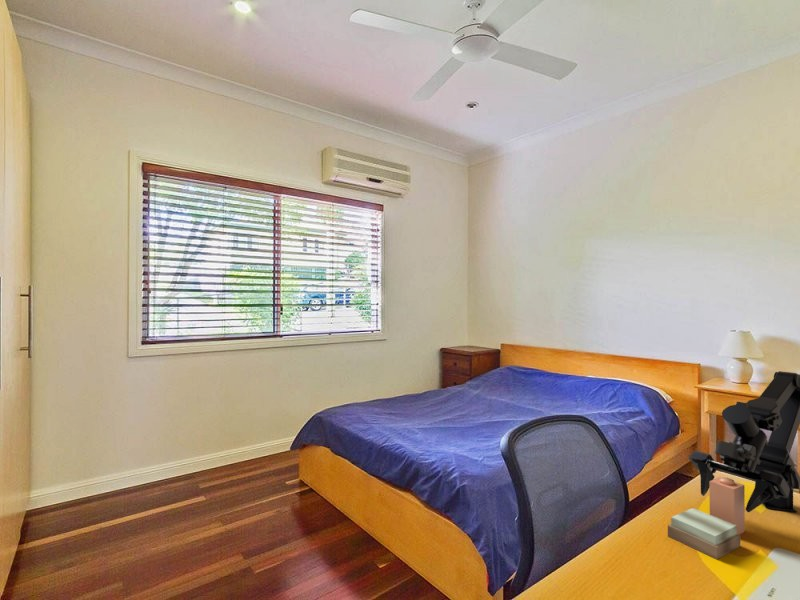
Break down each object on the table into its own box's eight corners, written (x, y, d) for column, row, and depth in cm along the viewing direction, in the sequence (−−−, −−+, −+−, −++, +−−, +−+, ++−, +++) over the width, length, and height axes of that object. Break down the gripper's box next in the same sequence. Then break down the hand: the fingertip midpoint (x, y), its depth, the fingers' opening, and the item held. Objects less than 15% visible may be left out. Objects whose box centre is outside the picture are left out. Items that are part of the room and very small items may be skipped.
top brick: (720, 521, 104) (720, 473, 104) (744, 531, 99) (744, 481, 99) (709, 527, 101) (709, 477, 101) (734, 537, 97) (733, 485, 97)
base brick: (691, 525, 102) (691, 506, 102) (740, 546, 93) (740, 525, 93) (667, 536, 97) (667, 516, 97) (716, 559, 88) (716, 537, 88)
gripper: (693, 419, 110) (668, 469, 105) (784, 439, 94) (760, 500, 89) (709, 444, 114) (686, 494, 109) (799, 468, 98) (777, 528, 92)
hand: (723, 502), depth 100 cm, fingers open, 9 cm apart
